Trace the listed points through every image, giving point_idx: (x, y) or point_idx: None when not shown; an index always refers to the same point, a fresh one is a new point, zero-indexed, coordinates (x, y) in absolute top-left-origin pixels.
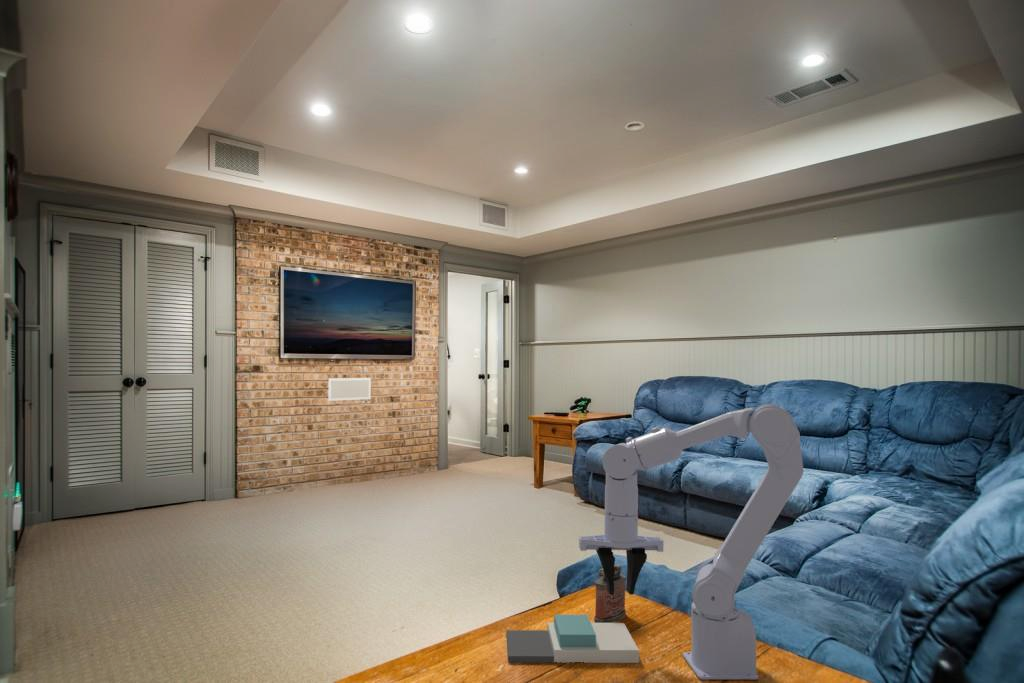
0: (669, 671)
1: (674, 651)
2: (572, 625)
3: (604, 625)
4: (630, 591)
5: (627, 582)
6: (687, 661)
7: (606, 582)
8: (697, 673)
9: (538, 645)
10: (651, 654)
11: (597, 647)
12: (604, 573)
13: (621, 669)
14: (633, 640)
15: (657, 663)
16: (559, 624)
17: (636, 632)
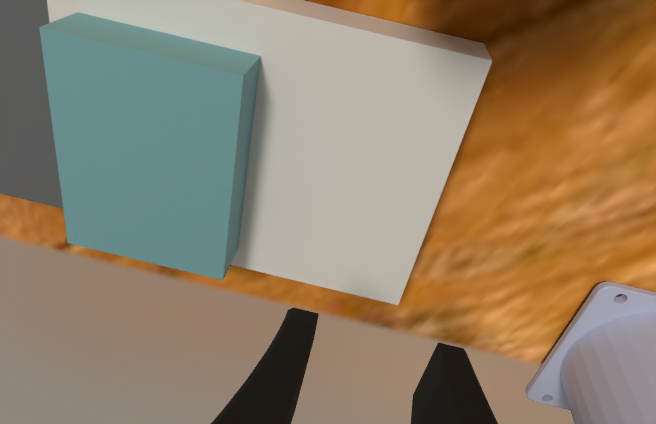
0: (469, 333)
1: (600, 241)
2: (133, 180)
3: (360, 70)
4: (412, 421)
5: (440, 399)
6: (571, 324)
7: (271, 345)
8: (532, 388)
9: (24, 126)
10: (486, 237)
11: (244, 251)
12: (236, 395)
13: (318, 288)
14: (423, 239)
15: (464, 290)
16: (68, 157)
17: (571, 36)
